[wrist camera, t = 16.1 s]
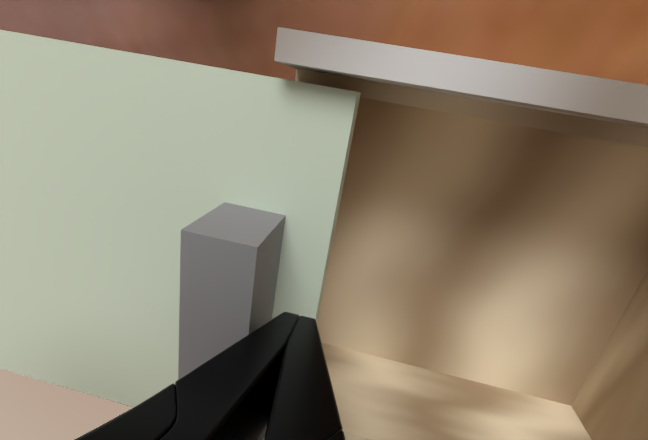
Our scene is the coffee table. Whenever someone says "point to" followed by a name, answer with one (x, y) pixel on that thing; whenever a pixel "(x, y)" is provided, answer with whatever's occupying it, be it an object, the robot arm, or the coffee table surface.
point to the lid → (156, 210)
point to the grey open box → (484, 247)
